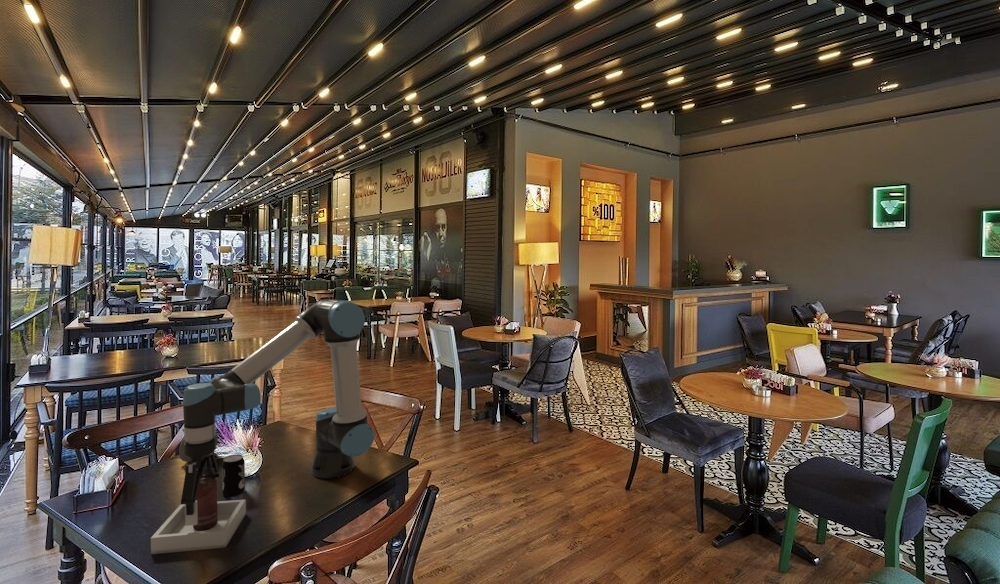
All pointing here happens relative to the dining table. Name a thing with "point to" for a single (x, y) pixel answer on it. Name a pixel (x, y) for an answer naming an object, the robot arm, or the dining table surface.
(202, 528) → the can
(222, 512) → the bus tub
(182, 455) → the decorative stone
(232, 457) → the beverage can
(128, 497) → the dining table surface
